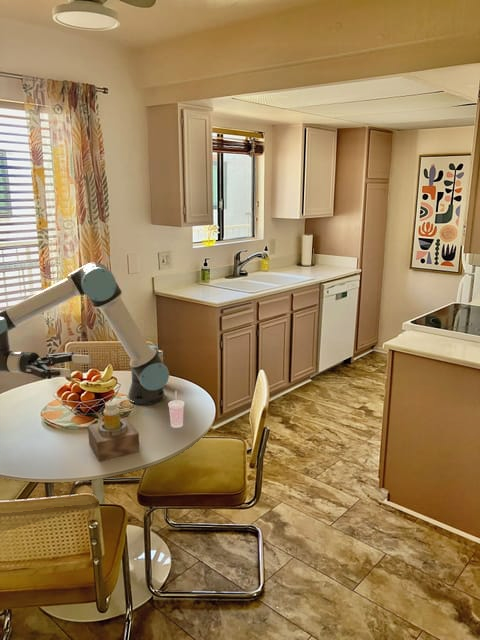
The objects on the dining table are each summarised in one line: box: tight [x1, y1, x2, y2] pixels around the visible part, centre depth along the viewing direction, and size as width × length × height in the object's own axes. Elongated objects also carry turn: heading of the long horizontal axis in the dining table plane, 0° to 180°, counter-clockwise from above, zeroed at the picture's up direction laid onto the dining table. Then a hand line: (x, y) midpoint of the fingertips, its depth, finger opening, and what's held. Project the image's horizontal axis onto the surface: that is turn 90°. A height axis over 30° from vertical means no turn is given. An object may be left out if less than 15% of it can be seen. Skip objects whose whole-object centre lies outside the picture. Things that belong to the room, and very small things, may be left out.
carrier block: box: [87, 416, 140, 462], centre depth 179 cm, size 14×14×8 cm
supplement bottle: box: [103, 400, 121, 430], centre depth 177 cm, size 5×5×10 cm
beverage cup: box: [167, 390, 185, 428], centre depth 196 cm, size 6×6×14 cm
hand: (80, 366), depth 178 cm, fingers open, 13 cm apart
